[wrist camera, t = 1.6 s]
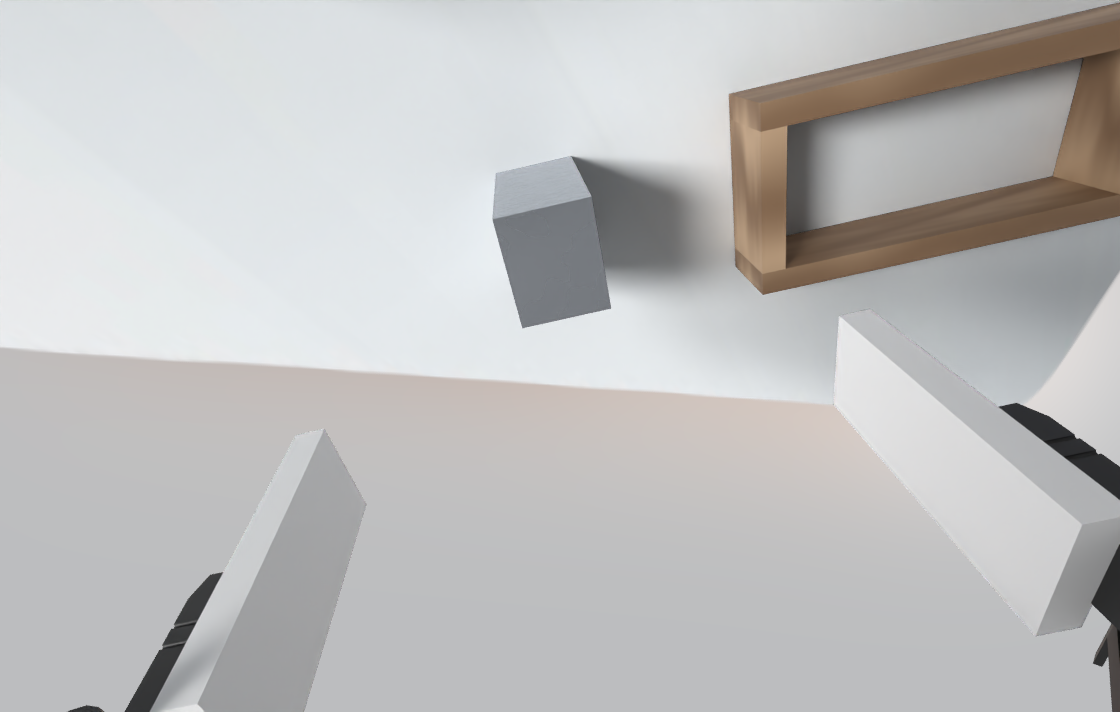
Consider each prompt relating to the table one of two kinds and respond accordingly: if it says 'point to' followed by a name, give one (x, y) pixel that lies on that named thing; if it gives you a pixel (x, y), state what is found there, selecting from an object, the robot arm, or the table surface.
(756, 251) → the rectangular wooden frame
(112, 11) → the table surface
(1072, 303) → the table surface
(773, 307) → the table surface
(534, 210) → the gray concrete brick
